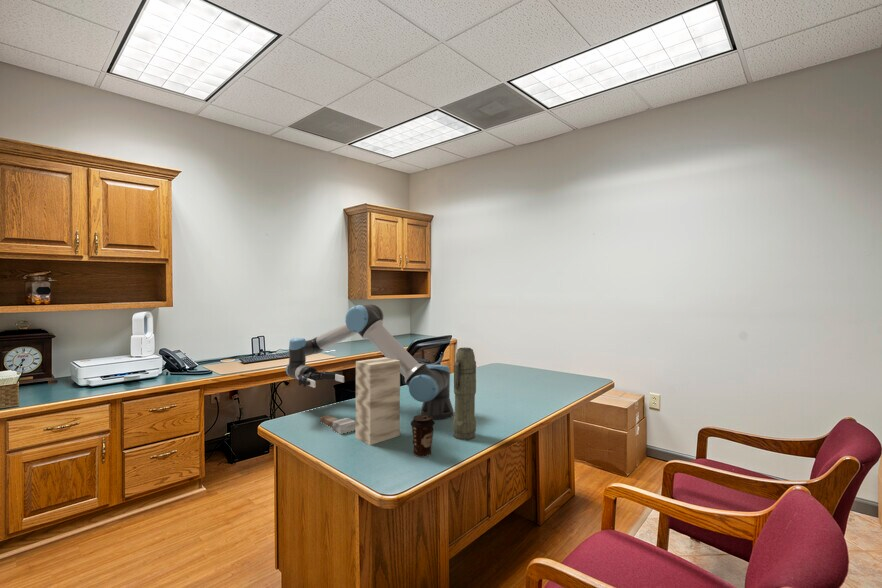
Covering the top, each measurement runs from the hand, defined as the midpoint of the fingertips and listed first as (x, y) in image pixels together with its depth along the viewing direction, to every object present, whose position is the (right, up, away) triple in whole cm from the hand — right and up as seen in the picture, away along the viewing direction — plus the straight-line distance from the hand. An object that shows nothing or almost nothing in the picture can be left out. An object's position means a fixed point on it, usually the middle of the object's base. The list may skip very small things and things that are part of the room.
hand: (329, 381), depth 177 cm
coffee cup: (+41, -19, -31) cm, 55 cm away
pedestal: (+23, -18, -15) cm, 33 cm away
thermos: (+57, -19, -13) cm, 62 cm away
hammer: (+4, -18, -4) cm, 19 cm away
